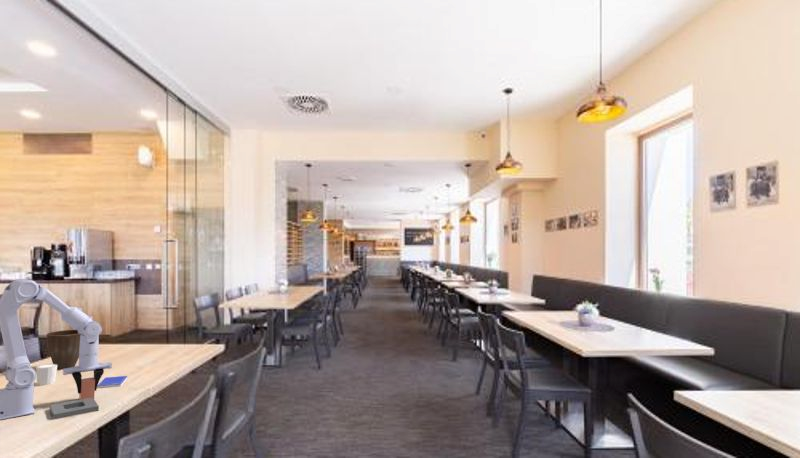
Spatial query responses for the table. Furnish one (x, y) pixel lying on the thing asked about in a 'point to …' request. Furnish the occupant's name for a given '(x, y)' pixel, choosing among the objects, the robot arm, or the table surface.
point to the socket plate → (73, 408)
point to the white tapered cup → (46, 374)
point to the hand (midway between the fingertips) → (87, 391)
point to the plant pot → (64, 348)
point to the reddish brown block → (87, 388)
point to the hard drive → (112, 382)
